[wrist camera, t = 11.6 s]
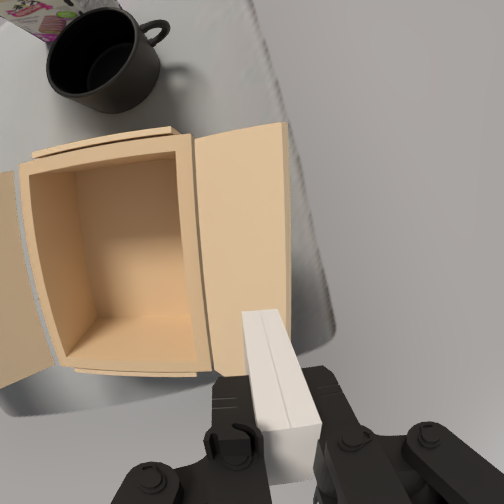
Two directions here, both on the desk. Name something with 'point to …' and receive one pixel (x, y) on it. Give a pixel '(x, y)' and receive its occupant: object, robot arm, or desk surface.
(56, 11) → the candy bar box
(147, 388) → the desk surface
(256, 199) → the flap
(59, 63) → the mug
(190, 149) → the carton
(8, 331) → the flap
